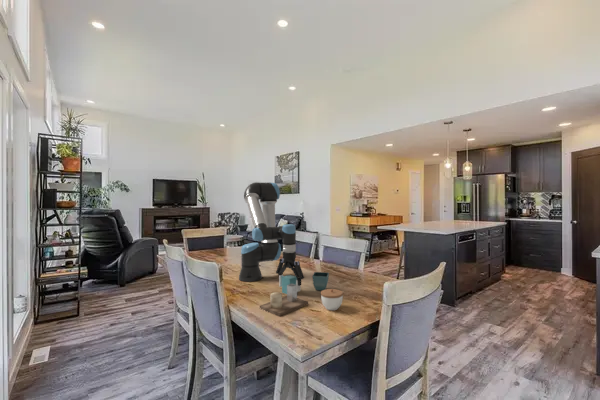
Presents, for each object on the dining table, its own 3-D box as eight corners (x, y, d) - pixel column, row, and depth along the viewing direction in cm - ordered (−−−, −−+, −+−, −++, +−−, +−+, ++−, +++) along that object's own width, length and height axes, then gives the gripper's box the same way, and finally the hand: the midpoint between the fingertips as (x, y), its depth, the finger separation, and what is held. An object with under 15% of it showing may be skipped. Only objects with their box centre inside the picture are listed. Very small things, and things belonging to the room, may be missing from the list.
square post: (287, 303, 149) (286, 285, 149) (292, 301, 152) (291, 283, 152) (292, 305, 147) (291, 286, 147) (297, 303, 150) (296, 284, 150)
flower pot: (327, 292, 167) (327, 276, 167) (312, 291, 168) (312, 275, 168) (329, 287, 175) (328, 272, 175) (314, 286, 177) (314, 271, 177)
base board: (259, 308, 143) (259, 305, 143) (288, 298, 158) (288, 295, 158) (279, 316, 133) (279, 313, 133) (308, 304, 148) (308, 301, 148)
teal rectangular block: (282, 292, 167) (281, 276, 167) (289, 289, 171) (289, 274, 171) (289, 294, 162) (289, 278, 162) (297, 292, 167) (297, 276, 167)
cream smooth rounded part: (268, 309, 141) (267, 294, 141) (276, 306, 145) (276, 291, 145) (276, 312, 138) (275, 297, 137) (284, 309, 142) (284, 294, 142)
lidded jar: (319, 304, 148) (319, 286, 148) (340, 303, 149) (340, 285, 149) (322, 312, 137) (322, 292, 137) (345, 311, 138) (345, 292, 138)
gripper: (269, 249, 172) (270, 285, 172) (301, 255, 155) (301, 295, 156) (279, 248, 178) (279, 282, 178) (310, 253, 161) (310, 291, 161)
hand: (289, 288), depth 167 cm, fingers open, 13 cm apart
